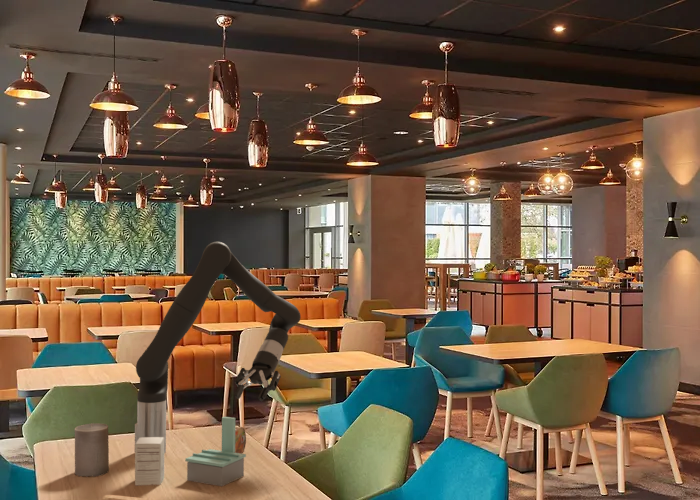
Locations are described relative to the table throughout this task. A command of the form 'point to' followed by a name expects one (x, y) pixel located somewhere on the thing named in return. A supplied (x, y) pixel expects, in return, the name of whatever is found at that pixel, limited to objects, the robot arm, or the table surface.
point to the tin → (240, 439)
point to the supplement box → (149, 461)
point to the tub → (215, 473)
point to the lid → (227, 451)
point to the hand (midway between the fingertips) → (248, 398)
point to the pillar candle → (91, 449)
